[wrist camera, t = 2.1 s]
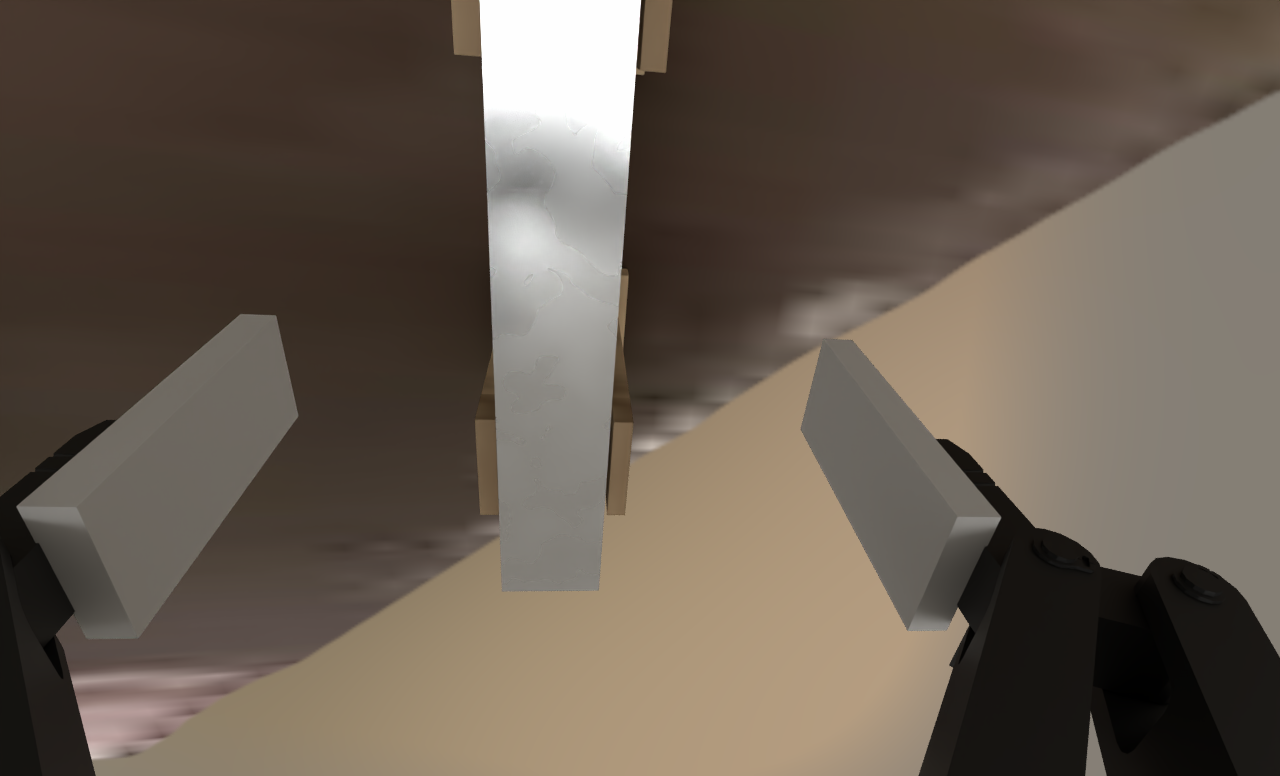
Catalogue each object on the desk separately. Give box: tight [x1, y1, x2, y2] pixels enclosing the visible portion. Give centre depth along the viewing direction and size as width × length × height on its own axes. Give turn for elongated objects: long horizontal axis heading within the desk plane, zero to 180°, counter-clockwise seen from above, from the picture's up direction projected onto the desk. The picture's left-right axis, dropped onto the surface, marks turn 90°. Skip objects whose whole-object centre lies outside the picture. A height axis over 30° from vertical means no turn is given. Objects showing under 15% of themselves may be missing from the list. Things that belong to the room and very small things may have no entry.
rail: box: [480, 0, 641, 591], centre depth 22 cm, size 4×26×5 cm, turn 175°
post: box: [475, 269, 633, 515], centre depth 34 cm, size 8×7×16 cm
